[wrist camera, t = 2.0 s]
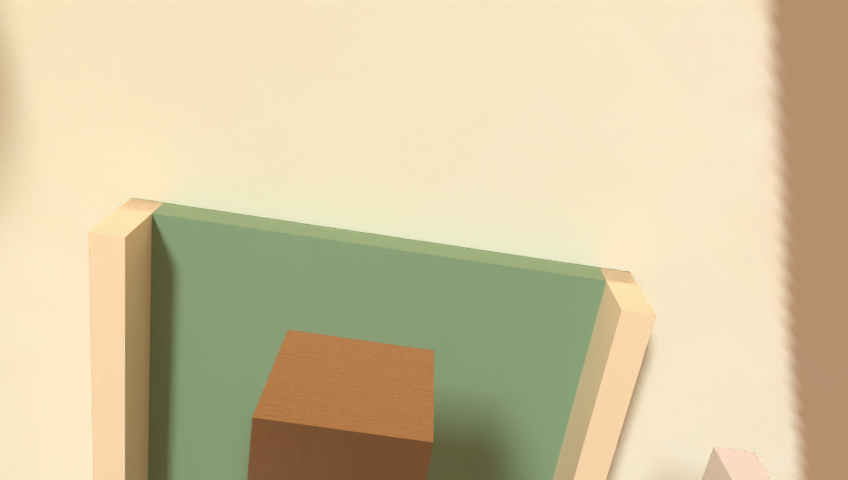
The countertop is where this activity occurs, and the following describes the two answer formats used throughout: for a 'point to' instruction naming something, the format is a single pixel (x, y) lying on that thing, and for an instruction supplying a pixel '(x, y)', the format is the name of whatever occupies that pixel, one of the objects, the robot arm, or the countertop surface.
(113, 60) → the countertop surface
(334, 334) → the pitch
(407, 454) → the rod
